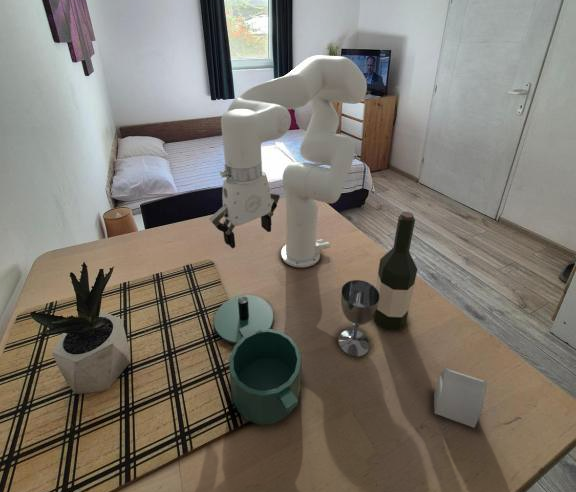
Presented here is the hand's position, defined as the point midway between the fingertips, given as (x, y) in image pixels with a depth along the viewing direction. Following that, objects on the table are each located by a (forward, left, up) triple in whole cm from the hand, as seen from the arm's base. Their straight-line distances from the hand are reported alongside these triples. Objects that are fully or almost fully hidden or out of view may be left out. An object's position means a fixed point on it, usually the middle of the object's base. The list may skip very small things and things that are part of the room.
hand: (249, 236), depth 75 cm
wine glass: (-20, +17, -23) cm, 35 cm away
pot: (+2, +21, -22) cm, 31 cm away
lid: (+3, +3, -22) cm, 22 cm away
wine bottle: (-32, +13, -23) cm, 41 cm away
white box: (-31, +36, -23) cm, 53 cm away
